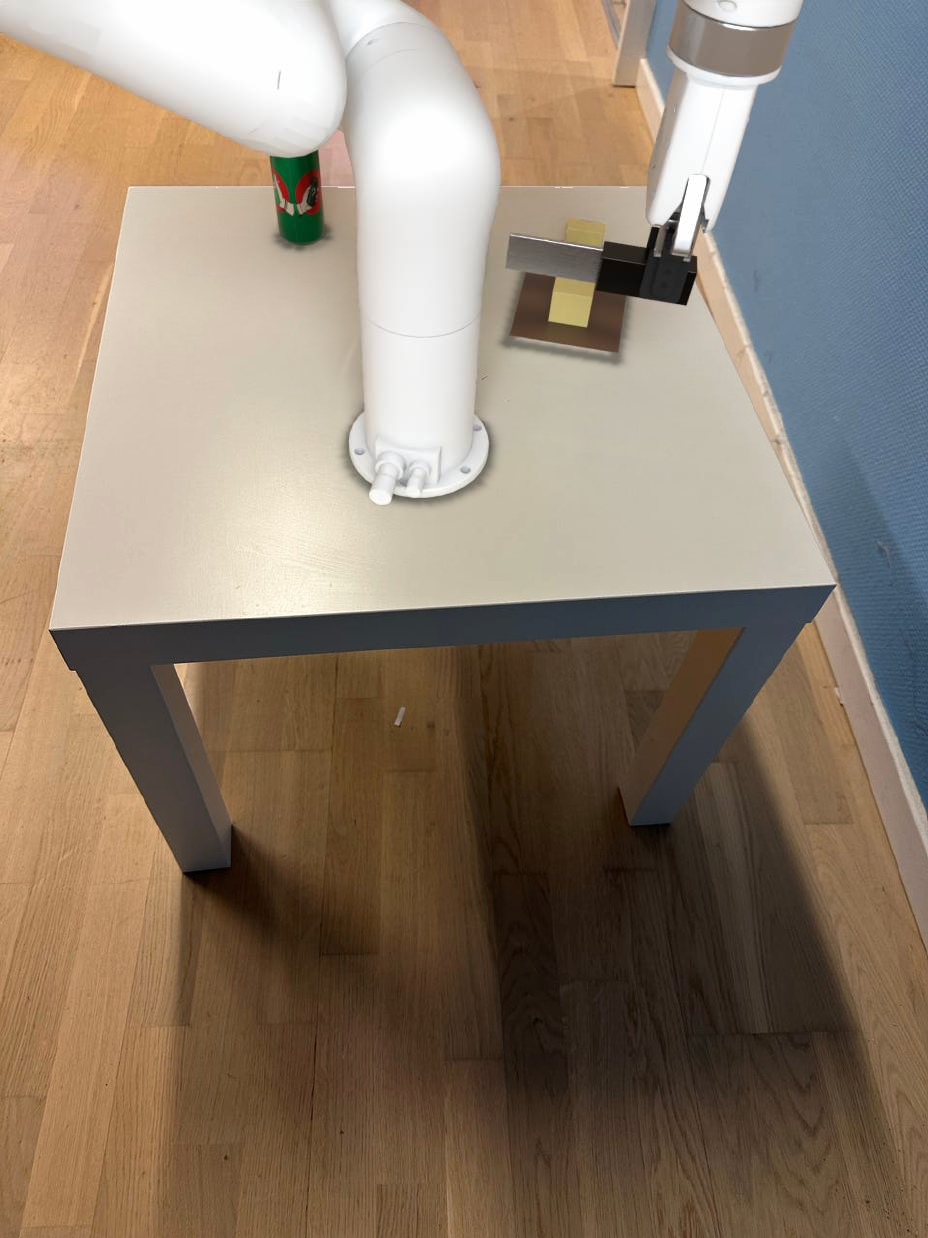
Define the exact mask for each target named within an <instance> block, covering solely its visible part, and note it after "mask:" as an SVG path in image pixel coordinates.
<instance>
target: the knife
mask: <svg viewBox="0 0 928 1238" xmlns="http://www.w3.org/2000/svg"><path fill="white" fill-rule="evenodd" d="M649 252H650V248H646V247H644V246H639V245H634V244H633V245H632V244H627V243H620V242H614V241H609V240H604V241H603V244H602V246H601V247H597V246H591V245H585V244H579V243H573V242H567V241H565V240H560V239H554V238H548V237H544V236H543V237H542V236H535V235H530V234H524V233H519V232H512V231H510V232H509V237H508V245H507V251H506V261H505V265H504V269H507V270H512V271H519V272H525V273H526V272H530V273H536V274H542V275H548V276H554V277H560V278H566V279H572V280H578V281H584V282H590V283H596V285H595V291H600V292H606V293H612V294H618V295H624V296H626V297H631V298H637V299H641V298H640V296H639V291H640V286H641V283H642V279H643V275H644V271H645V267H646V264H647V260H648V256H649ZM697 275H698V255H694V254H692V260H691V263H690V266H689V270H688V273H687V276H686V279H685V283H684V286H683V289H682V292H681V296H680V299H679V301H678V302H677V303H671V304H673V305H678V306H685V307H687V306H688V303H689V299H690V296H691V295H692V291H693V288H694V285H695V282H696V279H697ZM659 302H661V301H659ZM665 303H667V302H665ZM667 304H668V303H667Z"/></svg>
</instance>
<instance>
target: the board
mask: <svg viewBox="0 0 928 1238" xmlns="http://www.w3.org/2000/svg"><path fill="white" fill-rule="evenodd" d="M555 279H556V277H554V276H548V275H542V274H536V273H530V272H525V275H524V278H523V283H522V287H521V290H520V295H519V298H518V302H517V304H516V309H515V314H514V317H513V321H512V324H511V328H510V332H509V336H510V337H516V338H520V339H526V340H534V341H540V342H547V343H552V344H558V345H565V346H569V347H576V348H577V347H578V348H583V349H588V350H595V351H601V352H607V353H613V354H619V349H620V342H621V335H622V327H623V321H624V313H625V306H626V300H627V296H624V295H618V294H612V293H606V292H600V291H595V287H594V293H593V299H592V304H591V309H590V314H589V319H588V324H587V327H581V326H575V325H569V324H563V323H557V322H550V321H548V319H549V313H550V306H551V299H552V293H553V288H554V283H555ZM595 285H596V283H595Z"/></svg>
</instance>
